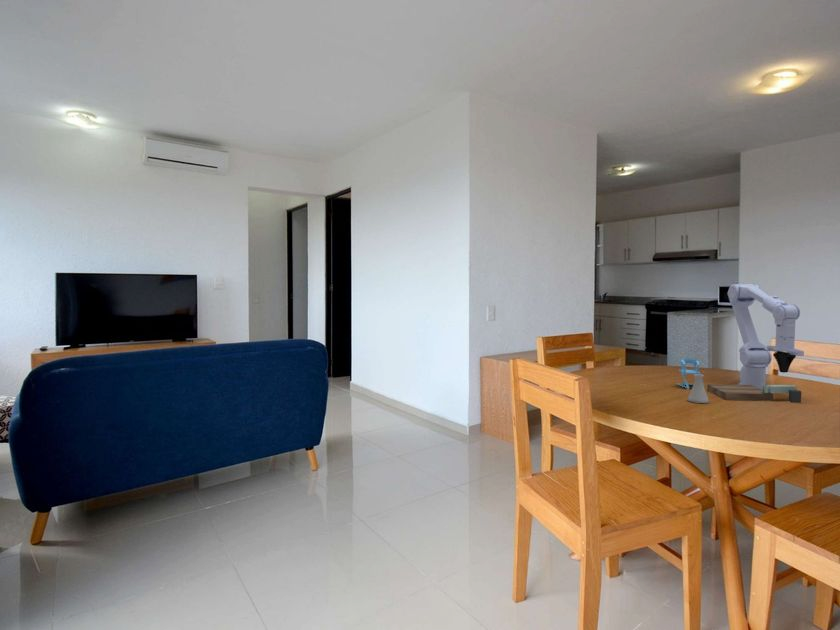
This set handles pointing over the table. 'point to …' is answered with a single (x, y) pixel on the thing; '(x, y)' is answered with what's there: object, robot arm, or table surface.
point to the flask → (698, 391)
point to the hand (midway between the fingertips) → (783, 372)
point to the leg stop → (794, 396)
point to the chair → (684, 371)
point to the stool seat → (740, 392)
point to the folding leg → (777, 388)
